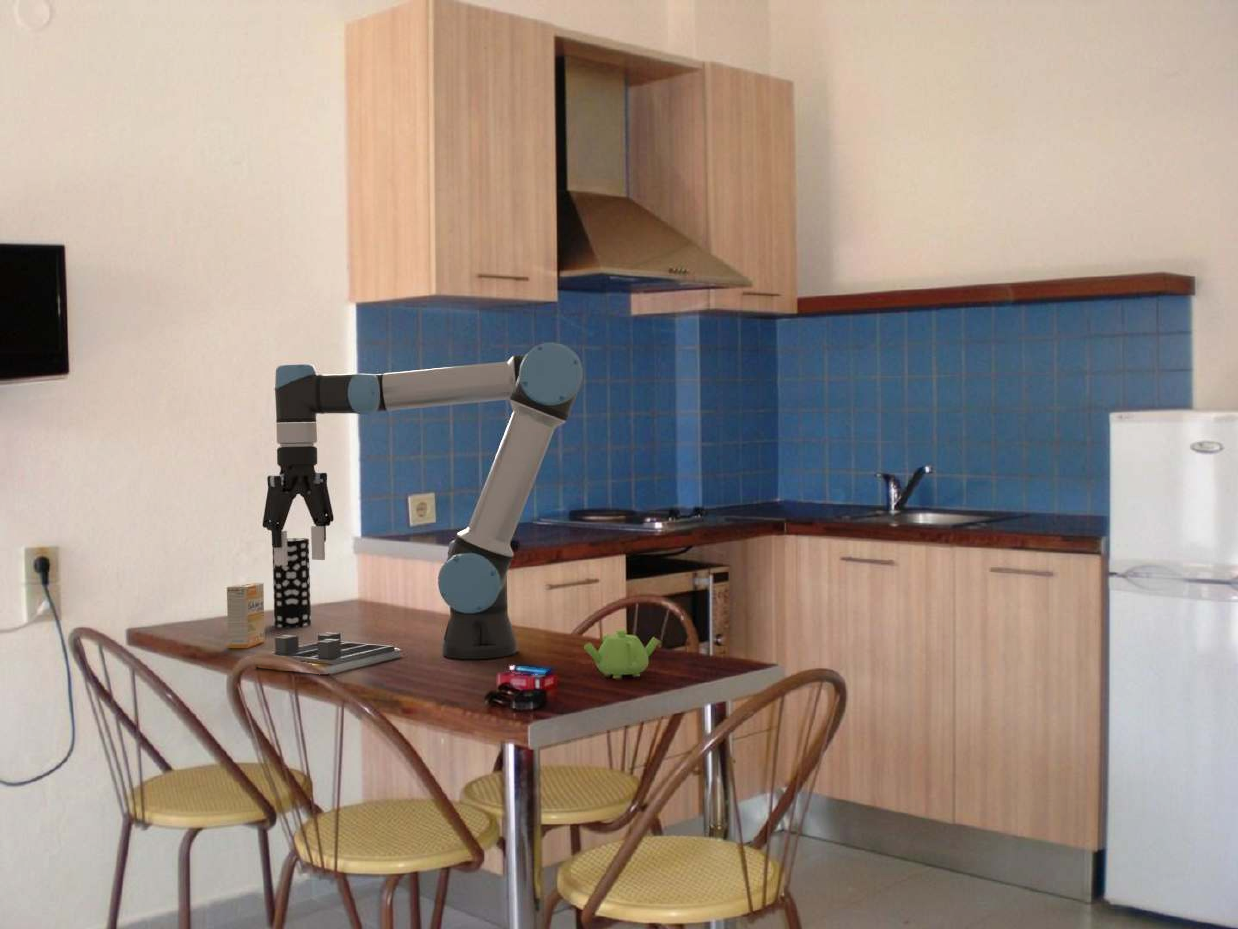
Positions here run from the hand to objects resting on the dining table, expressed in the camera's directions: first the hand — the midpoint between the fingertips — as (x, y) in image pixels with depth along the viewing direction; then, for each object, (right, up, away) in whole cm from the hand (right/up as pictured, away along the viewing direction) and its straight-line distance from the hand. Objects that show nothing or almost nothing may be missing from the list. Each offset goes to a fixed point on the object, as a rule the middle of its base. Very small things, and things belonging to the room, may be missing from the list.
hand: (300, 562), depth 265 cm
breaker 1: (-4, -19, +5) cm, 20 cm away
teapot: (+62, -20, -12) cm, 66 cm away
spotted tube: (-15, -19, +58) cm, 63 cm away
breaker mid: (+4, -19, +7) cm, 20 cm away
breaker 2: (+6, -19, -1) cm, 20 cm away
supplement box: (-18, -20, +30) cm, 40 cm away
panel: (+4, -20, +7) cm, 22 cm away
